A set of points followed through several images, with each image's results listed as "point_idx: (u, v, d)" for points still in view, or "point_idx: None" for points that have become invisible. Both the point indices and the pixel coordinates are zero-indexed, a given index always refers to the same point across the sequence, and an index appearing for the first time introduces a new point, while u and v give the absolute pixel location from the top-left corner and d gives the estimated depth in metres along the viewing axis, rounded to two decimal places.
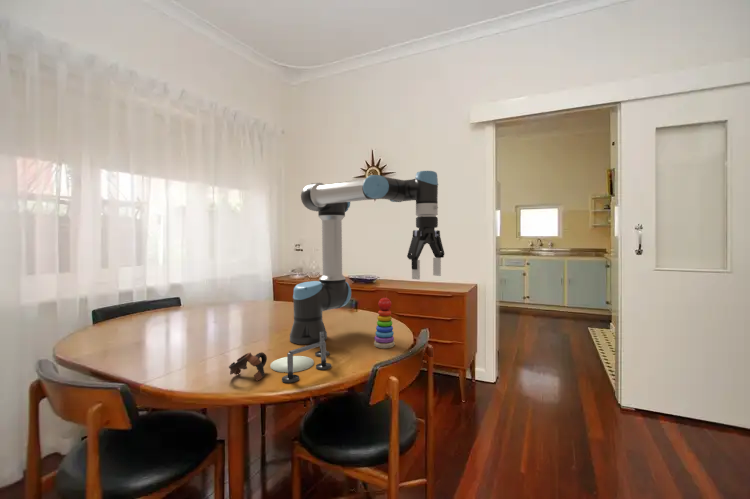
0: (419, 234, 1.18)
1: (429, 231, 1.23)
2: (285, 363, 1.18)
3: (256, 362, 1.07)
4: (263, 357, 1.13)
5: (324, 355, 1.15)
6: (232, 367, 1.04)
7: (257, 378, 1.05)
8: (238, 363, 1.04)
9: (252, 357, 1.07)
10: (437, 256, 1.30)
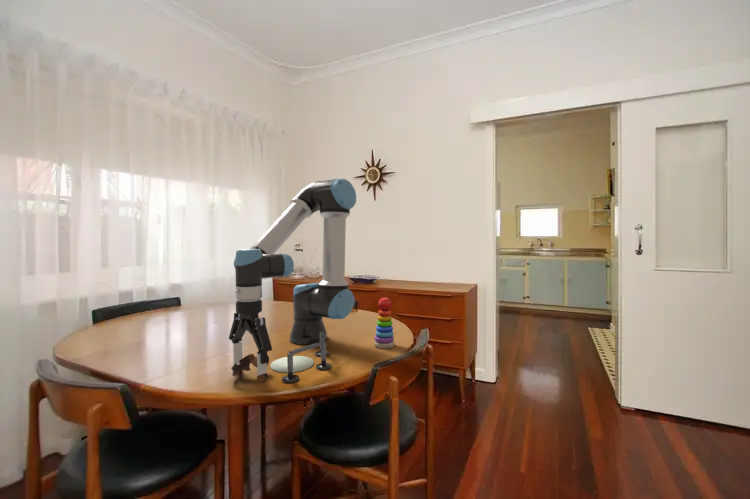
0: (234, 317, 1.12)
1: (245, 317, 1.08)
2: (285, 363, 1.18)
3: None
4: None
5: (324, 355, 1.15)
6: (235, 368, 1.03)
7: (260, 379, 1.04)
8: (241, 364, 1.03)
9: (255, 358, 1.06)
10: None
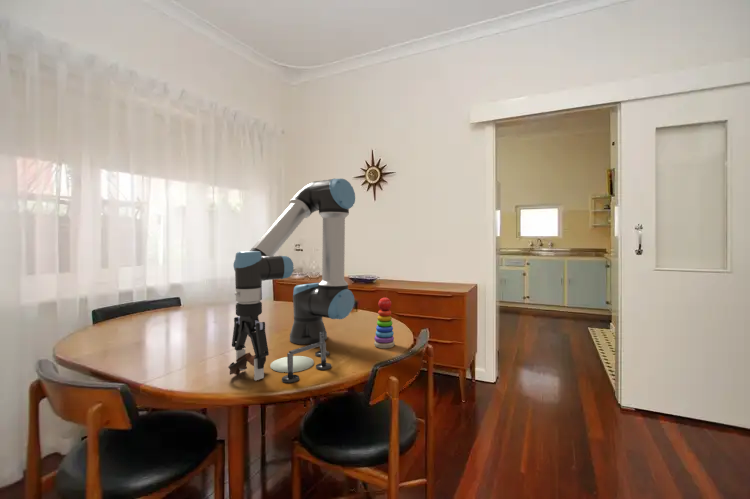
0: (235, 322, 1.11)
1: (245, 319, 1.07)
2: (285, 363, 1.18)
3: None
4: None
5: (324, 355, 1.15)
6: (232, 367, 1.04)
7: None
8: (238, 363, 1.04)
9: (252, 357, 1.08)
10: None
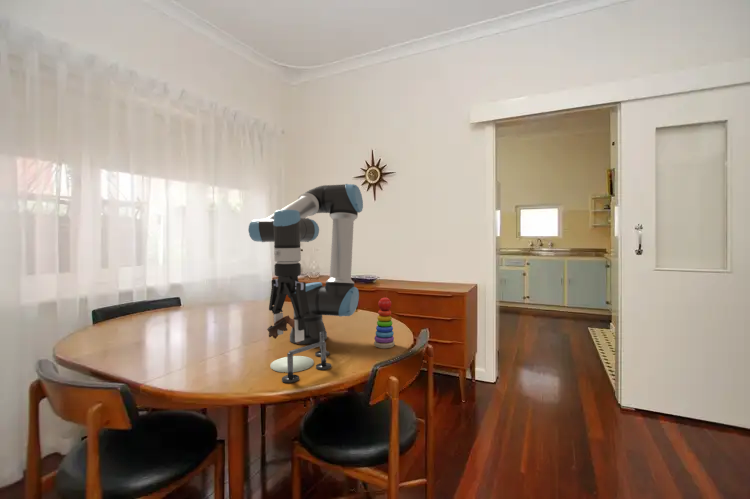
0: (272, 284, 1.08)
1: (284, 280, 1.04)
2: (285, 363, 1.18)
3: None
4: None
5: (324, 355, 1.15)
6: (272, 329, 1.01)
7: None
8: (278, 325, 1.01)
9: (291, 319, 1.04)
10: None
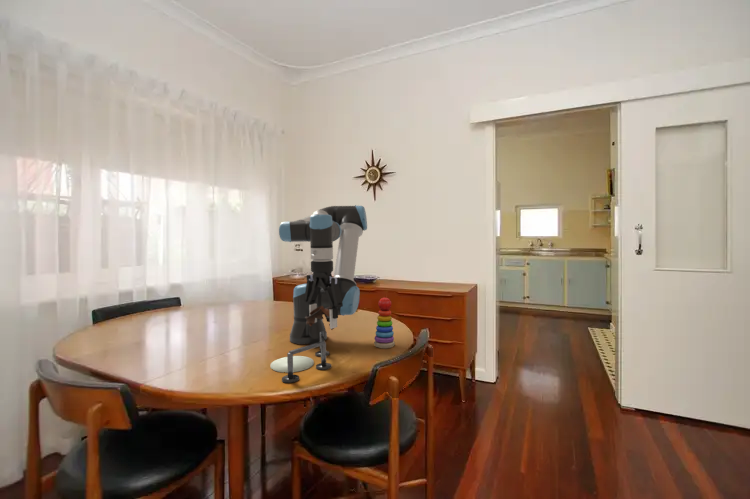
0: (307, 279, 1.24)
1: (319, 275, 1.20)
2: (285, 363, 1.18)
3: None
4: None
5: (324, 355, 1.15)
6: (310, 317, 1.18)
7: None
8: (315, 314, 1.17)
9: (325, 309, 1.21)
10: None
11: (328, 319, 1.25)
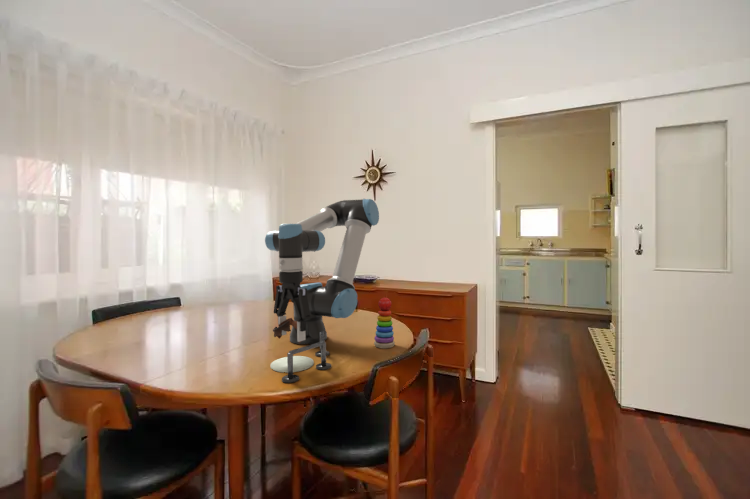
0: (277, 290, 1.21)
1: (288, 286, 1.17)
2: (285, 363, 1.18)
3: None
4: None
5: (324, 355, 1.15)
6: (277, 330, 1.14)
7: None
8: (282, 326, 1.13)
9: (294, 321, 1.17)
10: None
11: None
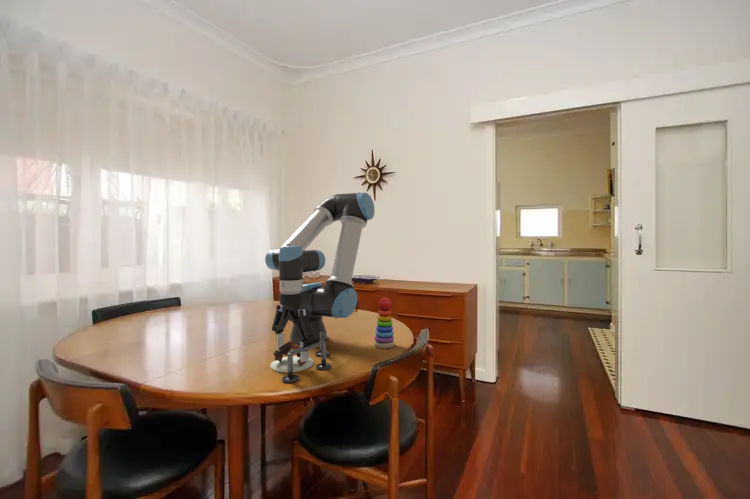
0: (277, 309, 1.21)
1: (288, 308, 1.17)
2: (285, 363, 1.18)
3: None
4: None
5: (324, 355, 1.15)
6: (277, 354, 1.14)
7: (300, 364, 1.15)
8: (283, 350, 1.14)
9: (294, 345, 1.17)
10: None
11: (298, 354, 1.21)
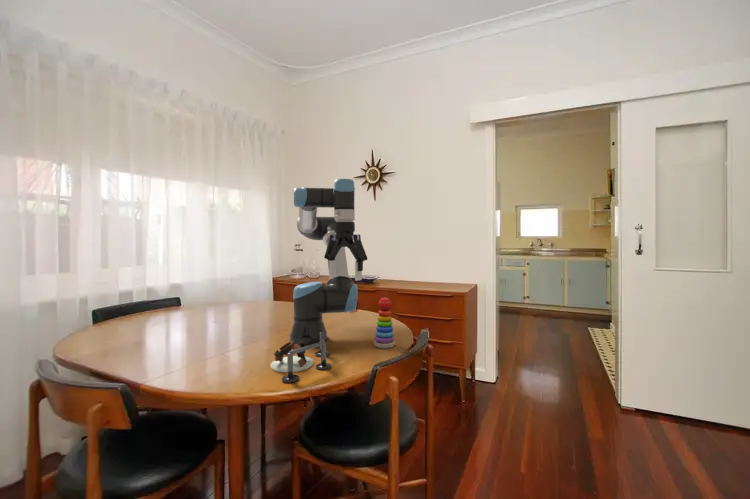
0: (330, 238, 1.35)
1: (342, 235, 1.31)
2: (285, 363, 1.18)
3: None
4: (303, 346, 1.22)
5: (324, 355, 1.15)
6: (278, 354, 1.14)
7: (301, 364, 1.15)
8: (284, 350, 1.14)
9: (295, 345, 1.17)
10: None
11: (299, 354, 1.21)
